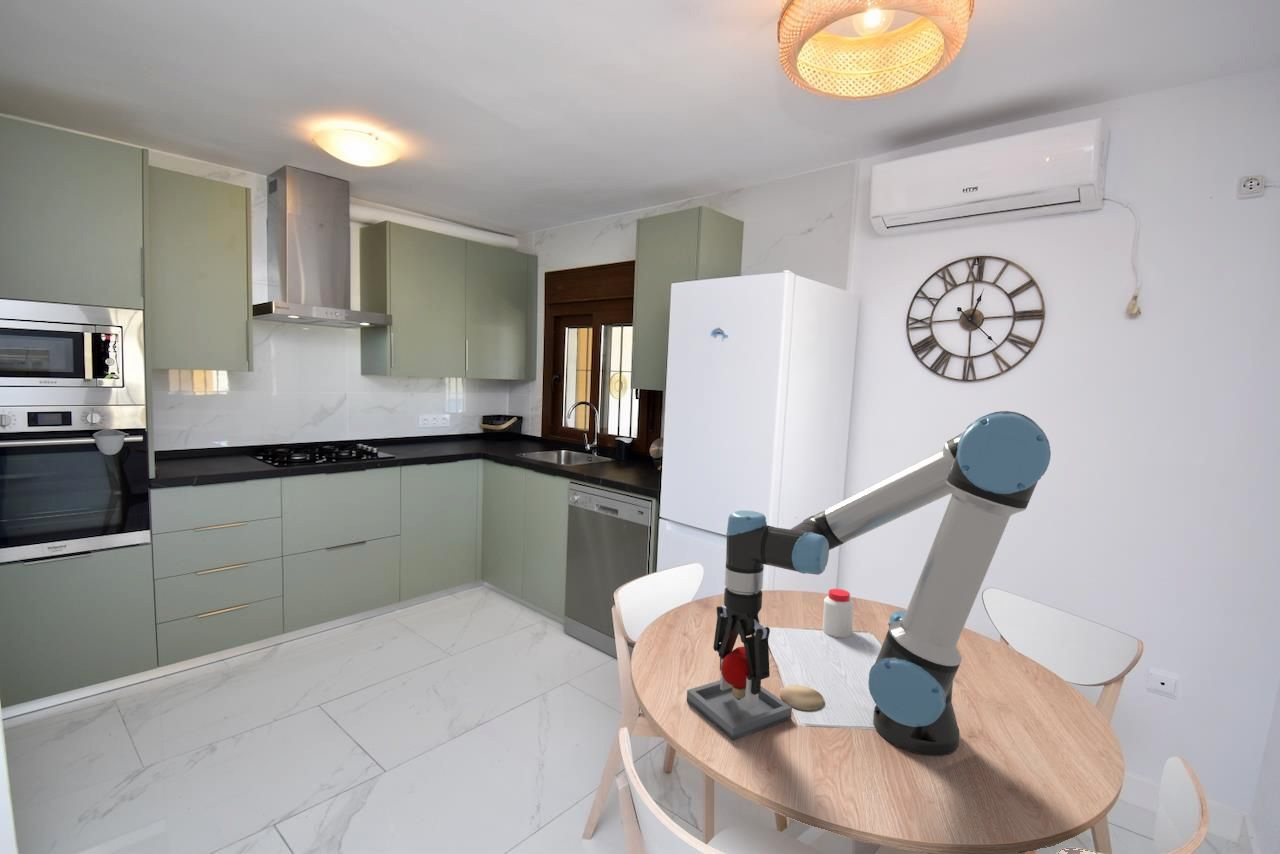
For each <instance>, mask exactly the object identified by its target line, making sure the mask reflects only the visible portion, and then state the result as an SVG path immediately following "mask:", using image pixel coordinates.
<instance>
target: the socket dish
mask: <svg viewBox="0 0 1280 854" xmlns="http://www.w3.org/2000/svg"><path fill="white" fill-rule="evenodd" d="M760 689H761V691H760V693H759V696H758V707H755V708H752V709H749V710H747V709H746V708H745V698H746V690H745V697H744V698H742V699H740V700H738V699H736V698H735V697H734V696H733V695H732V688H729V689H726V690H723V691H722V690H721V689H720V679H719V680H716V681H713V682H710V683H707V684H703V685H700V686H696V687H694V688H689V689H687V690H686V702H687V703H688V704H690V705H691V706H692V707H693V708H694V709H695V710H697V711H698V712H699V713H700V714H701V715H703V717H705V718H706V719H707V720H708V721H710V723H712V724H713V725H714V726H715V727H717V728H718V729H719V730H720V731H721V732H722V733H723V734H725V735H726V736H727V737H728V738H729V739H730V740H732V741H735V740H737V739H740V738H743V737H746V736H748V735H751V734H754V733H757V732H760V731H762V730H764V729H767V728H770V727H773V726H775V725H778V724H780V723H783V722H787V721H789V720H792V710H793V709H792V708H793V707H791V706H789V705H788V704H786V703H785V702H783V701H782V700H781V698H779V697H777V696H776V695H775V694H773V693H772V692H770V691H769V690H768V689H766V688H764V687H763V686H761V688H760Z"/></svg>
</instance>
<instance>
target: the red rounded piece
mask: <svg viewBox="0 0 1280 854" xmlns="http://www.w3.org/2000/svg"><path fill="white" fill-rule="evenodd" d="M755 671H756V670H755ZM721 672H722V676H723V678H724V679H725V681H726V682H727V683H729V684H731V685H732V695H733V696H734V697H735V698H736V699H738V700H740V699H742V698H744V697H745V690H746V677H747V676H750V674H749V669H748V664H747V659H746V653H745V648H744V646H738V647H736V648H733V650H732V652H731V653H729V654H728V655H726V656H725V658H724V659H723V661H722V665H721V671H720V673H721Z"/></svg>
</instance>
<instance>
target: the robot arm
mask: <svg viewBox="0 0 1280 854" xmlns="http://www.w3.org/2000/svg"><path fill="white" fill-rule="evenodd" d="M1051 453H1052V451H1051V446H1050V441H1049V438H1048V437H1047V435H1046V433H1045V432H1044V430H1043V429H1042V428H1041V427H1040V426H1039V425H1038V423H1037V422H1036V421H1035V420H1033V419H1031V418H1030V417H1028V416H1026V415H1025V414H1022V413H1019V412H1016V411H1009V410H1007V411H1006V410H1002V411H1001V410H1000V411H995V412H991V413H988V414H985V415H982V416H980V417H979V418H977V419H975V420H974V421H972V422H971V423H970V424H969V425H968V426H967V427H966V429H965V430H964V431H963V432H961V433H960V434H958V435H956V436H954V437H953V438H951V439H949V440H947V441H945V442H944V445H943V448H942V449H941V450H939V451H938V452H936V453H935V454H931V455H930V456H928V457H926V458H924V459H922V460H920V461H918V462H916V463H914V464H913V465H911V466H909V467H907V468H905V469H903V470H900V471H898V472H897V473H895V474H893V475H891V476H889V477H886V478H885V479H883V480H881V481H879V482H877V483H875V484H873V485H871V486H869V487H868V488H865V489H863V490H862V491H860V492H858V493H856V494H854V495H852V496H850V497H847V498H846V499H844V500H842V501H840V502H838V503H836V504H834V505H832V506H830V507H829V508H826V509H824V510H823V511H820V512H819V513H817V514H815V515H811V516H809V517H807V518H805V519H804V520H803V521H802V522H800V523H799V524H798V523H797V524H796V525H794V526H793V527H791V528H783V527H777V526H776V527H775V526H772V525H767V524H768V523H767V518H766V515H765V514H764V513H762V512H759V511H754V510H735V511H733V512H731V514H729V516H728V520H727V528H726V529H727V530H726V534H725V535H726V550H725V551H726V554H725V557H726V558H725V567H724V569H725V571H724V586H725V588H724V593H723V594H724V595H723V605H720V606H717V607H716V624H715V625H716V626H715V631H714V640H713V647H712V648H713V650H714V652H717V653H718V657H719V672H720V679H719V680H720V689H721V690H722V691H723V690H726V689H729V688H732V685H731V684H729V683H727V682H726V681H725V679H724V678H723V676H722V672H721V665H722V661H723V659H724V658H725V656H726V655H728V654H729V653H731V652H732V651H733V650H734V647H735V644H736V641H737V639H738V636H739V637H740V641H741V643H742V644H743V647H744V648H745V653H746V659H747V664H748V669H749V674H750V676H747V677H746V698H745V708H746V709H747V710H749V709H752V708H755V707H758V696H759V693H760V691H761V689H760V688H761V687H762V685H761V684H762V680H764V679H767V678H770V676H771V674H770V653H769V650H770V649H769V638H770V632H771V629H770V628H769V627H768V626H765V627H764V626H763V625H761V623H760V619H759V613H760V611H761V610H762V608H763V605H762V604H763V591H762V589H763V585H764V584H763V583H764V581H763V580H764V567H765V566H769V567H770V566H771V567H776V568H780V569H784V570H788V571H792V572H798V573H800V574H809V575H818V576H819V575H821V574H822V573H824V571H826V567H827V565H828V562H829V557H830V556H829V555H830V550H833V549H836V548H837V547H839V546H841V545H843V544H845V543H847V542H849V541H852V540H853V539H856V538H858V537H860V536H863V535H865V534H868V533H869V532H871V531H873V530H875V529H878V528H879V527H882V526H884V525H886V524H888V523H890V522H892V521H894V520H896V519H900V518H901V517H903V516H905V515H908V514H910V513H912V512H914V511H916V510H919V509H920V508H922V507H925V506H927V505H929V504H931V503H934V502H935V501H938V500H940V499H943V498H944V497H947V496H949V495H951V496H950V499H949V501H948V504H947V507H946V509H945V511H944V514H943V517H942V519H941V522H940V524H939V527H938V529H937V532H936V534H935V537H934V540H933V542H932V544H931V548H930V550H929V552H928V555H927V558H926V561H924V562H925V563H924V565H923V567H922V570H921V573H920V575H919V577H918V580H917V584H916V585H915V588H914V591H913V594H912V596H911V598H910V601H909V604H908V606H907V609H906V610H897V611H893V612H892V613H891V614H890V616H889V622H887V623H888V624H887V625H888V630H887V632H886V635H885V638H884V640H883V643H882V645H881V648H880V651H879V653H878V656H877V658H876V660H875V662H874V664H873V665H872V666H871V668H870V670H869V673H868V690H869V694H870V696H871V698H872V700H873V702H874V704H875V706H874V709H873V719H872V721H873V723H872V724H873V726H874V728H875V730H876V731H877V732H878V734H879V735H880V736H881V737H882V738H883V739H885V740H886V741H888V742H890V743H891V744H892V745H895V746H897V747H899V748H901V749H903V750H905V751H908V752H912V753H914V754H920V755H923V756H933V757H938V756H939V757H940V756H946V755H950V754H952V753H954V752H956V751H957V749H958V748H959V746H960V729H959V726H958V721H957V718H956V714H955V710H954V706H953V703H952V698H953V686H954V685H953V684H954V680H955V678H956V677H955V676H956V674H957V672H958V670H959V668H960V666H961V665H960V664H961V663H962V659H963V657H962V655H961V653H960V651H959V649H958V648H957V644H958V642H959V639H960V637H961V634H962V632H963V630H964V627H965V626H966V625H965V624H966V623H967V620H968V619H969V616H970V613H971V611H972V609H973V606H974V604H975V601H976V599H977V597H978V594H979V592H980V590H981V587H982V584H983V583H984V580H985V578H986V575H987V573H988V570H989V568H990V566H991V563H992V561H993V559H994V557H995V553H996V552H997V550H998V549H997V548H998V547H999V544H1000V541H1002V538H1003V535H1004V533H1005V531H1006V530H1005V529H1006V527H1007V526H1008V522H1009V520H1010V517H1011V516H1013V515H1015V514H1019V513H1021V512H1024V511H1026V509H1027V507H1028V505H1029V503H1030V501H1031V498H1032V497H1033V496H1032V495H1033V493H1034V491H1035V489H1036V486H1037V484H1038V482H1039V481H1040V480H1041V479H1042V477H1043V476H1044V475H1045V473H1046V472H1047V470H1048V468H1049V464H1050V461H1051ZM755 670H756V671H755Z"/></svg>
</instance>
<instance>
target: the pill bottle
mask: <svg viewBox="0 0 1280 854" xmlns="http://www.w3.org/2000/svg"><path fill="white" fill-rule="evenodd" d="M854 607H855V603H854V601H853V600H852V599H851V593H850V592H849V591H847V590H846V589H841V588H831V589H828V595H827V596H825V598H824V599H823V607H822V610H823V611H822V624H821V626H822V627H821V629H822V631H823V633H825V634H826V635H828V636H831V637H835V638H842V639H845V638H850V637H851V636H852V635H853V624H854V610H855V608H854Z"/></svg>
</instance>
